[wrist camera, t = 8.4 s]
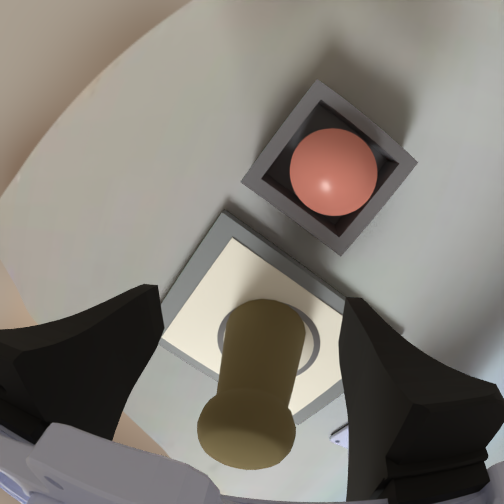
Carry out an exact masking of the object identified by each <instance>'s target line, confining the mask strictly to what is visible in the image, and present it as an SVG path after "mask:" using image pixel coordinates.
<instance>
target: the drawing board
mask: <svg viewBox="0 0 504 504" xmlns="http://www.w3.org/2000/svg"><path fill="white" fill-rule="evenodd" d="M345 298H346V297H345V296H343V295H342V294H341V293H339V292H338V291H337V290H335V289H334V288H333V287H331V286H330V285H329V284H327V283H326V282H324V281H323V280H322V279H320V278H319V277H318V276H316V275H315V274H314V273H312V272H311V271H309V270H308V269H307V268H305V267H304V266H303V265H301V264H300V263H299V262H297V261H296V260H294V259H293V258H292V257H290V256H289V255H288V254H286V253H285V252H283V251H282V250H281V249H279V248H278V247H276V246H275V245H274V244H272V243H271V242H270V241H268V240H267V239H265V238H264V237H263V236H261V235H260V234H258V233H257V232H256V231H254V230H253V229H251V228H250V227H249V226H247V225H246V224H244V223H243V222H242V221H240V220H239V219H237V218H236V217H235V216H233V215H232V214H230V213H229V212H228V211H226V210H224V211H223V212H222V213H221V215H220V216H219V217H218V219H217V220H216V222H215V223H214V225H213V226H212V228H211V229H210V231H209V232H208V234H207V235H206V237H205V238H204V240H203V241H202V242H201V244H200V245H199V247H198V248H197V250H196V251H195V253H194V254H193V256H192V257H191V259H190V260H189V262H188V263H187V265H186V267H185V268H184V270H183V271H182V273H181V274H180V276H179V277H178V279H177V280H176V282H175V283H174V285H173V286H172V288H171V290H170V291H169V293H168V294H167V296H166V297H165V299H164V300H163V302H162V304H161V310H162V316H163V322H164V327H165V328H164V331H163V333H162V336H161V339H160V341H159V343H158V344H159V345H160V346H162V347H163V348H165V349H166V350H168V351H169V352H171V353H172V354H174V355H175V356H177V357H178V358H180V359H181V360H183V361H185V362H186V363H188V364H189V365H191V366H192V367H194V368H196V369H197V370H199V371H200V372H202V373H204V374H205V375H207V376H209V377H210V378H212V379H214V380H215V381H217V382H218V380H219V373H220V365H221V358H222V351H223V344H224V337H225V330H226V323H227V321H228V319H229V316H230V314H231V313H232V312H233V311H234V310H235V309H236V308H237V307H238V306H240V305H242V304H244V303H246V302H248V301H251V300H257V299H269V300H276V301H279V302H281V303H284V304H286V305H288V306H289V307H291V308H292V309H293V310H294V311H296V312H297V313H298V314H299V316H300V318H301V319H302V321H303V322H304V326H305V331H306V335H305V341H304V345H303V350H302V354H301V358H300V362H299V367H298V371H297V375H296V379H295V383H294V387H293V391H292V395H291V398H290V402H289V406H288V408H289V409H290V411H291V413H292V416H293V419H294V423H295V424H297V425H299V424H301V423H302V422H304V421H305V420H306V419H308V418H309V417H311V416H312V415H314V414H315V413H317V412H318V411H319V410H321V409H322V408H324V407H325V406H326V405H328V404H329V403H330V402H332V401H333V400H334V399H336V398H337V397H338V396H340V395H341V394H342V393H344V388H343V383H342V377H341V371H340V365H339V347H338V341H339V335H340V329H341V323H342V317H343V311H344V305H345Z"/></svg>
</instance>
